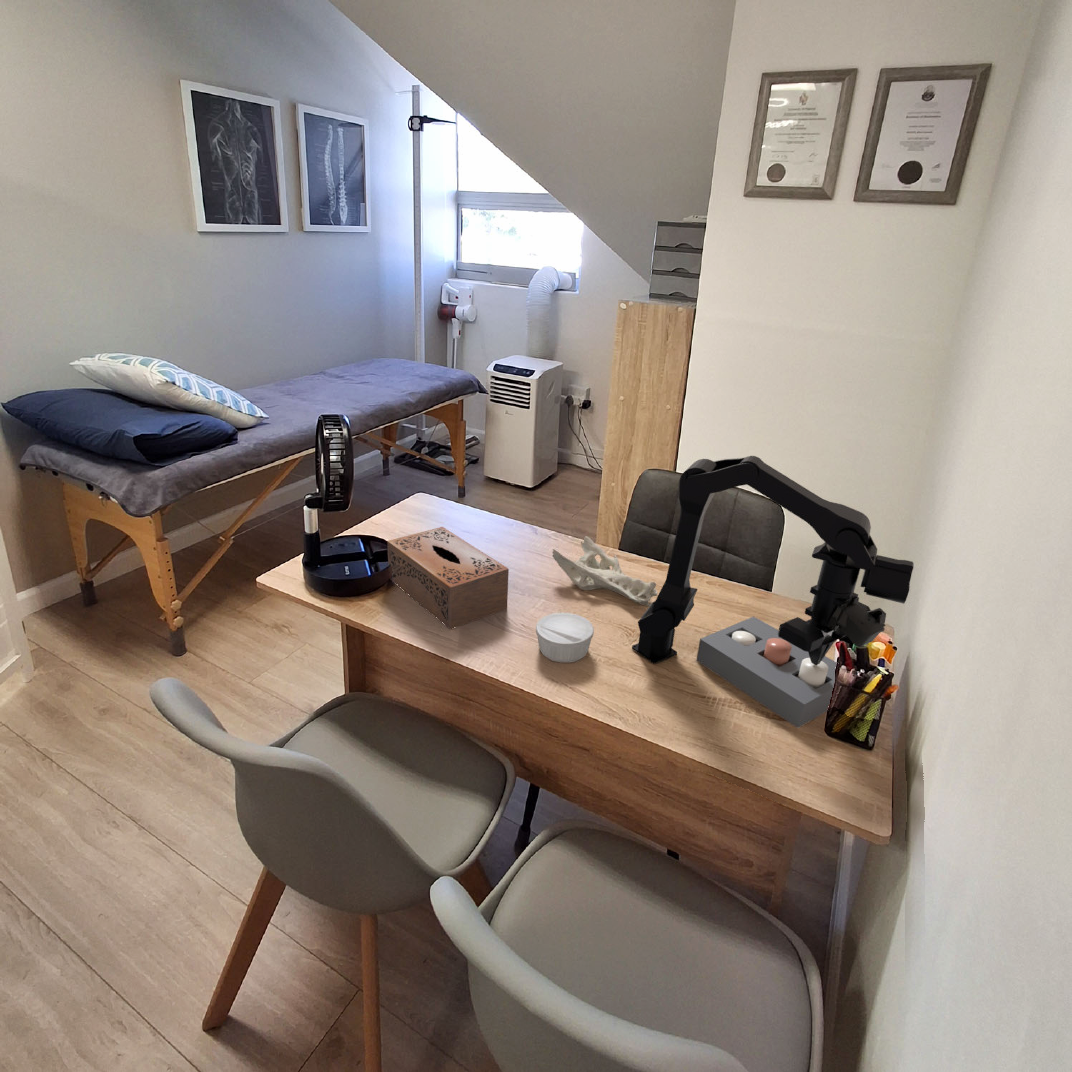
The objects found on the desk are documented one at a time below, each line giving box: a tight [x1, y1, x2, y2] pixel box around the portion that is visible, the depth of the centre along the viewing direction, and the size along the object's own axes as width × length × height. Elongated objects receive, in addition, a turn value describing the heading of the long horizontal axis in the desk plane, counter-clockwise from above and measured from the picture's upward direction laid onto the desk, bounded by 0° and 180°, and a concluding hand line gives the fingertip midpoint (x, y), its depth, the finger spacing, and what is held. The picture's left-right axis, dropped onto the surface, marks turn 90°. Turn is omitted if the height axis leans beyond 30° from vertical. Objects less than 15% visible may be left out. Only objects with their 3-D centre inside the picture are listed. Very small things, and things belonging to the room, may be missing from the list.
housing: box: [696, 616, 838, 729], centre depth 127 cm, size 16×23×5 cm
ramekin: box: [535, 612, 595, 664], centre depth 132 cm, size 11×11×5 cm
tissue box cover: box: [387, 526, 510, 630], centre depth 149 cm, size 26×14×10 cm, turn 39°
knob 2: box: [797, 658, 828, 689], centre depth 120 cm, size 4×4×4 cm
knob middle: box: [762, 638, 792, 667], centre depth 126 cm, size 4×4×4 cm
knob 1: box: [732, 631, 756, 647], centre depth 132 cm, size 4×4×4 cm
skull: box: [552, 535, 659, 607], centre depth 155 cm, size 12×8×25 cm
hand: (815, 663), depth 119 cm, fingers closed
